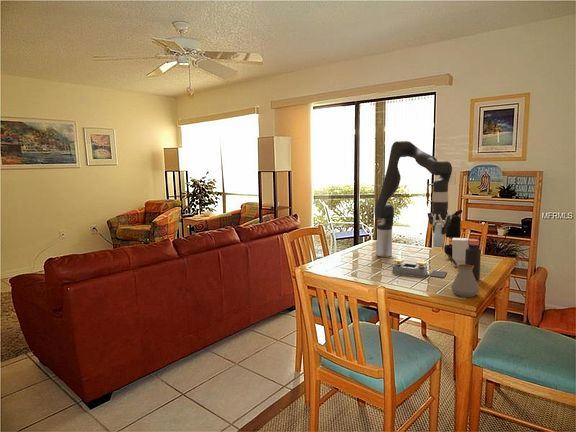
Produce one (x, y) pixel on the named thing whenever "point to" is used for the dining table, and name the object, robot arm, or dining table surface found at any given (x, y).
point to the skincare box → (459, 250)
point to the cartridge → (438, 235)
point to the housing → (409, 269)
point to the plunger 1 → (398, 261)
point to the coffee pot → (464, 280)
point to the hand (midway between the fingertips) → (439, 233)
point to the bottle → (473, 257)
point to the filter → (453, 231)
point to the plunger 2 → (421, 263)
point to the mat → (438, 274)
